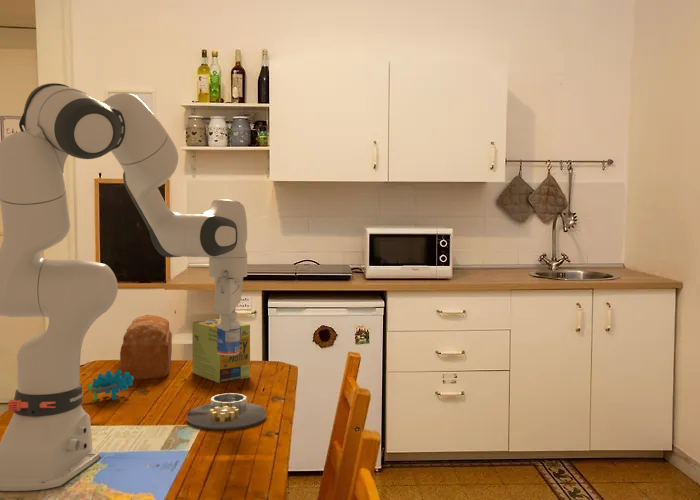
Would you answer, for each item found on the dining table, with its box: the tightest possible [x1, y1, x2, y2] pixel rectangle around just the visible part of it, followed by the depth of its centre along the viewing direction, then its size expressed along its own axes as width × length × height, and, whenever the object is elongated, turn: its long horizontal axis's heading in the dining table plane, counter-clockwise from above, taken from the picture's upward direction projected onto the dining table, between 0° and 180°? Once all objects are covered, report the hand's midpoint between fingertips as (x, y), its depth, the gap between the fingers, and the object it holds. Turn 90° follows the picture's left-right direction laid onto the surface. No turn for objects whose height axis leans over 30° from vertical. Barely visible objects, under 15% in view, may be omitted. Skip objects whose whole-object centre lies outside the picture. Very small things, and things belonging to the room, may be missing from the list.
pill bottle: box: [217, 311, 241, 355], centre depth 161 cm, size 6×5×10 cm
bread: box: [119, 314, 173, 380], centre depth 206 cm, size 14×26×16 cm, turn 13°
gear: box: [87, 369, 135, 402], centre depth 173 cm, size 11×6×10 cm
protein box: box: [191, 318, 251, 384], centre depth 199 cm, size 10×15×16 cm
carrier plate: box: [186, 392, 267, 431], centre depth 159 cm, size 18×18×4 cm
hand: (228, 327), depth 161 cm, fingers closed on pill bottle, 5 cm apart
